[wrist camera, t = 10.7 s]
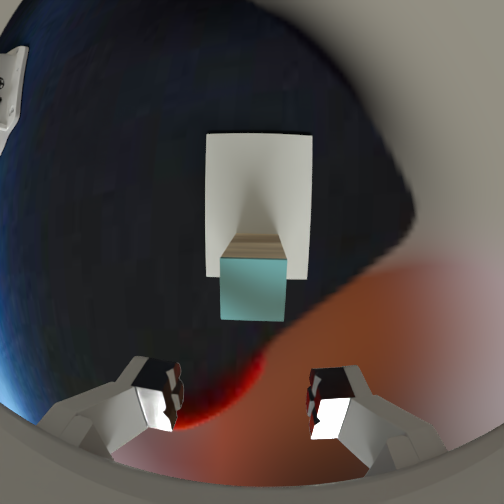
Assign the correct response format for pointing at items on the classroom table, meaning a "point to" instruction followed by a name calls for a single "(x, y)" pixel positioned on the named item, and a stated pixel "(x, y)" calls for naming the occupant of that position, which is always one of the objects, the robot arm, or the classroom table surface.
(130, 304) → the classroom table surface
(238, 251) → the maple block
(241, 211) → the grey mat
